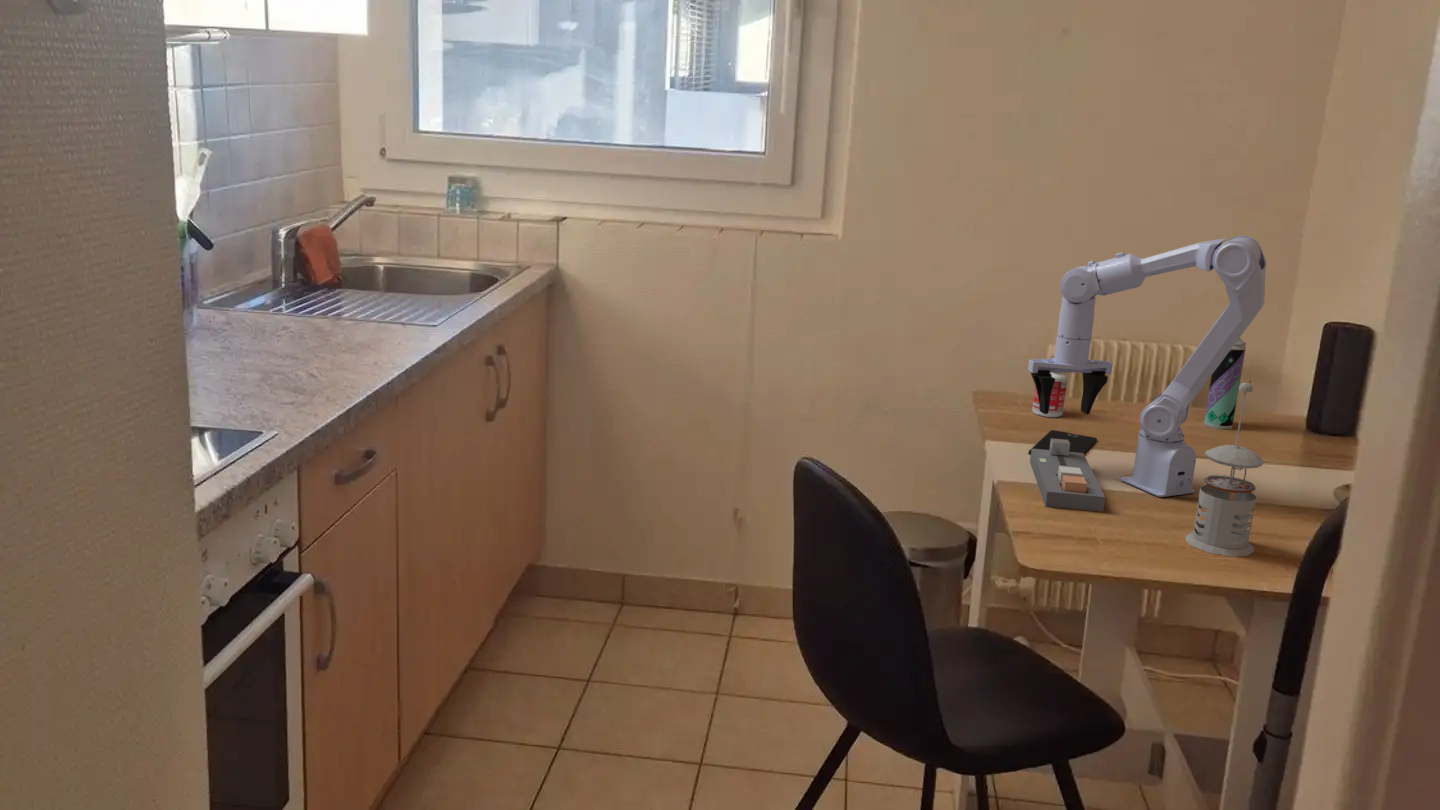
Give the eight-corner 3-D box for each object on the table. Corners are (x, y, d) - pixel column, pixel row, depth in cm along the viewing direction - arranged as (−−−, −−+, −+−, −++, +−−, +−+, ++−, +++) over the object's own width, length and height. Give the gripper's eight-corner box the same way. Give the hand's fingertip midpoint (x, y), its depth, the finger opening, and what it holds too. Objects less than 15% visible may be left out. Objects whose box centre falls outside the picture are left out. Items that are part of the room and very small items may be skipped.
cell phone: (1097, 442, 239) (1097, 437, 239) (1076, 465, 224) (1076, 460, 223) (1050, 434, 243) (1051, 429, 243) (1027, 456, 228) (1027, 451, 227)
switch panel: (1103, 511, 199) (1105, 496, 198) (1045, 506, 200) (1047, 490, 199) (1081, 466, 222) (1083, 452, 221) (1029, 461, 223) (1031, 448, 222)
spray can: (1197, 423, 256) (1213, 327, 251) (1217, 421, 258) (1233, 326, 253) (1218, 430, 251) (1234, 332, 246) (1238, 428, 253) (1254, 331, 248)
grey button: (1080, 488, 205) (1082, 474, 204) (1059, 486, 205) (1061, 472, 205) (1077, 481, 208) (1079, 468, 208) (1057, 479, 209) (1058, 466, 208)
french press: (1177, 544, 186) (1203, 382, 180) (1196, 524, 196) (1222, 369, 189) (1246, 561, 181) (1276, 395, 175) (1263, 539, 191) (1291, 381, 184)
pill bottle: (1062, 419, 253) (1069, 366, 250) (1031, 415, 254) (1037, 362, 251) (1062, 412, 258) (1069, 360, 255) (1032, 408, 260) (1038, 356, 257)
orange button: (1085, 498, 200) (1087, 483, 199) (1063, 495, 200) (1065, 481, 200) (1082, 491, 203) (1084, 477, 203) (1060, 489, 204) (1062, 475, 203)
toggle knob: (1068, 455, 219) (1070, 443, 218) (1051, 454, 219) (1052, 442, 218) (1066, 451, 221) (1068, 439, 220) (1049, 450, 221) (1050, 438, 221)
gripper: (1103, 332, 220) (1093, 406, 223) (1025, 330, 218) (1016, 406, 221) (1121, 341, 213) (1111, 417, 217) (1041, 339, 211) (1031, 417, 214)
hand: (1064, 412), depth 218 cm, fingers open, 7 cm apart
